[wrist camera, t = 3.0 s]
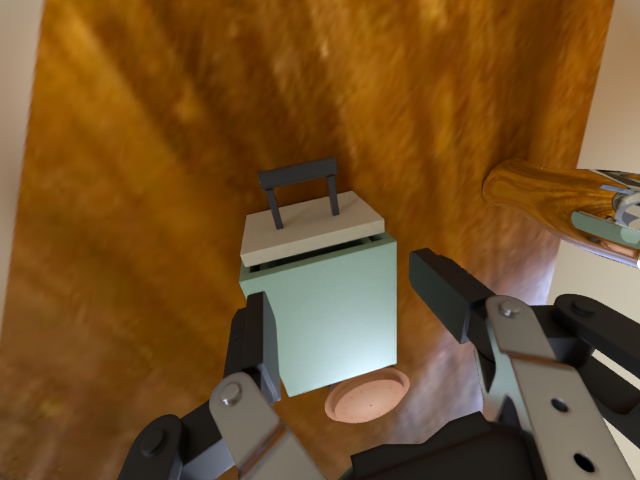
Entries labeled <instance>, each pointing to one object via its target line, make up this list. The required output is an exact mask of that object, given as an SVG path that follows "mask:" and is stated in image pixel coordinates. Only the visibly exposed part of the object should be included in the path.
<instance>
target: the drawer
mask: <svg viewBox="0 0 640 480" xmlns="http://www.w3.org/2000/svg"><path fill="white" fill-rule="evenodd" d="M335 174H337V163H336V160H335V158H334V156H332V157H327V158H322V159H318V160H313V161H309V162H304V163H299V164H295V165H290V166H285V167H281V168H276V169H271V170H267V171H262V172H258V178H259V182H260V185H261V188H262V190H263V191H264V190H266V195H267V198H268V202H269V205H270V209H271V210H267V211H263V212H259V213H254V214H250V215H247V216H246V222H245V229H244V235H243V241H242V247H241V254H240V256H241V258H242V261H243V263H244V266H245V267H249V266H253V265H257V264H260V271H261V270H265V269H269V268H273V267H277V266H281V265H285V264H288V263H292V262H296V261H300V260H304V259H308V258H312V257H316V256H320V255H323V254H327V253H331V252H335V251H339V250H343V249H347V248H351V247H355V246H358V245H362V244H366V243H370V242H372V241H371V240H370V239H369V238H368V237H367V236H371V235H375V234H379V233H383V232H385V231H384V219H383V218H382V217H381V216H380V215H379V214H378V213H377V212H376V211H374V210H373V209H372V208H371V207H370V206H369V205H368V204H367V203H366V202H364V201H363V200H362V199H361V198H360V197H359V196H358V195H357V194H356V193H354V192H353V191H349V192H345V193H340V194H337V191H336V183H335V176H334V175H335ZM322 177H326V179H327V186H328V192H329V196H327V197H323V198H319V199H315V200H310V201H306V202H302V203H297V204H293V205H289V206H284V207H280V208H278V205H277V201H276V198H275V194H274V190H273V188H277V187H282V186H286V185H291V184H295V183H300V182H304V181H309V180H313V179H318V178H322Z"/></svg>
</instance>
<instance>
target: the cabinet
mask: <svg viewBox="0 0 640 480" xmlns="http://www.w3.org/2000/svg"><path fill="white" fill-rule="evenodd" d="M384 231H385V232H383V233H379V234H375V235H371V236H367V237H368V238H369V239H370V240H371V241H372V242H370V243H366V244H362V245H358V246H355V247H351V248H347V249H343V250H339V251H335V252H331V253H327V254H323V255H320V256H316V257H312V258H308V259H304V260H300V261H296V262H292V263H288V264H285V265H281V266H277V267H273V268H269V269H265V270H261V271H260V264H257V265H253V266H249V267H245V266H244V263H243V261H242V263H241V270H240V278H239V284H240V286H241V288H242V290H243V293H244V295H245V297H246V300H247V296H248V295H250V294H253V293H257V292H261V291H265V292H266V295H267V297H268V300H269V303H270V305H271V308H272V310H273V313H274V316H275V320H276V327H277V343H278V360H279V375H280V377H281V379H282V382H283V384H284V386H285V388H286V391H287V393H288V395H289V397H291V396H295V395H298V394H301V393H304V392H307V391H311V390H314V389H317V388H320V387H323V386H327V385H330V384H333V383H336V382H339V381H342V380H346V379H349V378H352V377H355V376H358V375H362V374H365V373H368V372H371V371H374V370H377V369H381V368H384V367H387V366H390V365H393V364H396V363H397V241H396V240H395V239H394V238H393V237H392V236H391V235H390V234H389V233H388V232H387V231H386V230H385V229H384Z"/></svg>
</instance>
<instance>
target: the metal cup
mask: <svg viewBox="0 0 640 480" xmlns="http://www.w3.org/2000/svg"><path fill="white" fill-rule="evenodd" d="M482 196H483V199H484V201H485V202H486V203H487V204H489V205H492V206H497V207H503V208H507V209H510V210H513V211H516V212H518V213H520V214H522V215H523V216H525V217H527V218H528V219H530V220H532V221H533V222H535V223H536V224H538V225H539V226H541V227H542V228H544V229H545V230H547V231H549V232H550V233H552V234H554V235H555V236H557V237H559V238H561V239H562V240H564V241H566V242H569V243H571V244H573V245H575V246H577V247H579V248H582V249H584V250H586V251H589V252H591V253H594V254H596V255H599V256H602V257H605V258H607V259H611V260H613V261H616V262H619V263H621V264H624V265H627V266H630V267H633V268H636V269H638V270H640V174H635V173H628V172H621V171H609V170H593V169H560V168H548V167H542V166H538V165H535V164H532V163H530V162H528V161H525V160H523V159H520V158H508V159H505V160H503V161H501V162H500V163H499V164H497V165H496V166H495V167H494V168H493V169H492V170H491V171H490V172H489V174H488V175H487V177H486V179H485V181H484V183H483V187H482Z"/></svg>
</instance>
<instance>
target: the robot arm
mask: <svg viewBox="0 0 640 480" xmlns="http://www.w3.org/2000/svg"><path fill="white" fill-rule="evenodd" d="M409 280H410V283H411V286H412V287H413V289H414V290H415V291H416V293H417V294H418V295H419V296H420V297H421V298H422V300H423V301H424V302H425V303H426V304H427V306H428V307H429V308H430V309H431V310H432V311H433V313H434V314H435V315H436V316H437V317H438V319H439V320H440V321H441V322H442V323H443V324H444V326H445V327H446V328H447V329H448V330H449V332H450V333H451V334H452V335H453V336H454V338H455V339H456V340H457V341H458V342H459V343H460V344H463V343H466V342H469V341H471V342H472V343H473V344H474V346H475V347H474V355H475V361H476V366H477V371H478V376H479V381H480V386H481V391H482V396H483V414H482V413H481V412H480V411H478V412H475V413H472V414H469V415H466V416H463V417H461V418H458V419H455V420H452V421H449V422H448V423H447V424H446V425H445V426H443V427H442V428H441V429H440V430H439V431H437V432H436V433H435V434H434V435H433V436H432V437H430V438H429V439H428V440H427V441H426V442H424V443H422V444H383V445H380V446H377V447H374V448H371V449H369V450H366V451H363V452H360V453H357V454H354V455H351V456H350V457H351V461H352V465H353V466H352V467H351V468H349V469H348V470H347V471H346V472H345V473H344V474H343V475H342V476H341V477H340V478H339V479H338V480H636V479H635V477H634V475H633V473H632V471H631V469H630V468H629V466H628V464H627V462H626V461H625V458H624V456H623V455H622V453H621V451H620V449H619V447H618V445H617V444H616V442H615V440H614V438H613V436H612V434H611V433H610V431H609V429H608V427H607V425H606V423H605V421H604V420H603V418H605V419H606V420H607V421H608V422H609V423H610V424H611V425H613V426H614V427H615V428H616V429H617V430H618V431H620V432H621V433H622V434H623V435H624V436H625V437H626V438H628V439H629V440H630V441H631V442H632V443H633V444H634V445H636V446H637V447H638V448H639V449H640V390H639V389H637V388H636V387H634V386H633V385H632V384H630V383H629V382H628V381H626V380H625V379H623V378H622V377H621V376H619V375H618V374H616V373H615V372H614V371H612V370H611V369H609V368H608V367H607V366H605V365H604V364H602V363H601V362H600V361H598V360H597V359H595V358H594V357H593V356H591V355H592V354H593V352H594V351H595V349H597V350H598V351H600V352H601V353H603V354H604V355H606V356H607V357H609V358H610V359H611V360H613V361H614V362H616V363H617V364H619V365H620V366H622V367H623V368H624V369H626V370H627V371H629V372H630V373H632V374H633V375H635V376H636V377H637V378H639V379H640V324H639V323H637V322H635V321H634V320H632V319H630V318H628V317H626V316H624V315H623V314H621V313H619V312H617V311H615V310H613V309H611V308H610V307H608V306H606V305H604V304H602V303H600V302H598V301H596V300H594V299H592V298H589V297H586V296H582V295H577V294H563V295H560V296H558V297H557V298H556V300H555V302H554V305H534V306H528V305H527V304H526V303H524V302H523V301H521V300H519V299H517V298H514V297H510V296H505V295H496V294H495V293H494V292H492V291H491V290H490V289H488V288H487V287H486V286H485V285H483V284H482V283H481V282H480V281H478V280H477V279H476V278H475V277H473V276H472V275H471V274H468V272H467V271H466V270H464V269H463V268H461V266H459V265H458V264H457V263H455V262H454V261H453V260H451V259H449V258H447V257H444V256H442V255H438V256H437V255H436V254H435V253H434V252H432V251H431V250H430V249H429V248H423V249H419V250H416V251H412V252H411V253H410V259H409ZM229 340H230V341H229V344H228V350H227V357H226V363H225V370H224V376H223V380H222V381H220V382H219V384H218V385H217V386H216V387H215V389H214V390H213V392H212V395H211V397H210V399H209V400H208V401H207V402H205V403H204V404H203V405H201V406H200V407H198V408H196V409H195V410H193V411H192V412H190V413H189V414H187V415H185V416H184V417H182V418H181V419H179V418H178V417H177V416H176V415H173V414H168V415H164V416H161V417H159V418H157V419H155V420H154V421H152V422H151V423H150V424H149V425H147V426H146V427H145V428H144V429H143V430H142V431H141V433H140V434H139V435H138V436H137V438H136V439H135V441H134V443H133V444H132V446H131V448H130V450H129V453H128V455H127V458H126V460H125V462H124V465H123V467H122V469H121V472H120V474H119V476H118V479H117V480H216V478H217V477H218V476H220V475H221V474H222V473H224V472H225V471H226V470H227V469H229V468H230V467H231V466H233V465H234V464H235V465H236V467H237V469H238V472H239V474H238V478H239V480H327V478H326V477H325V476H324V474H323V473H322V471H321V470H320V469H319V467H318V466H317V465H316V463H315V462H314V460H313V459H312V458H311V456H310V455H309V454H308V452H307V451H306V450H305V448H304V447H303V445H302V444H301V443H300V441H299V440H298V439H297V437H296V436H295V434H294V433H293V432H292V430H291V429H290V428H289V427H288V425H287V424H286V423H284V422H283V421H282V420H281V418H280V417H279V415H278V414H277V413H276V411H275V410H274V409H273V402H275V401H279V400H281V395H280V378H279V360H278V343H277V327H276V320H275V316H274V313H273V310H272V308H271V305H270V303H269V300H268V297H267V295H266V292H265V291H261V292H257V293H253V294H250V295H248V296H247V305H246V308H242V309H238V311H237V312H236V314H235V316H234V318H233V319H232V324H231V332H230V337H229ZM602 417H603V418H602Z"/></svg>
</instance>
